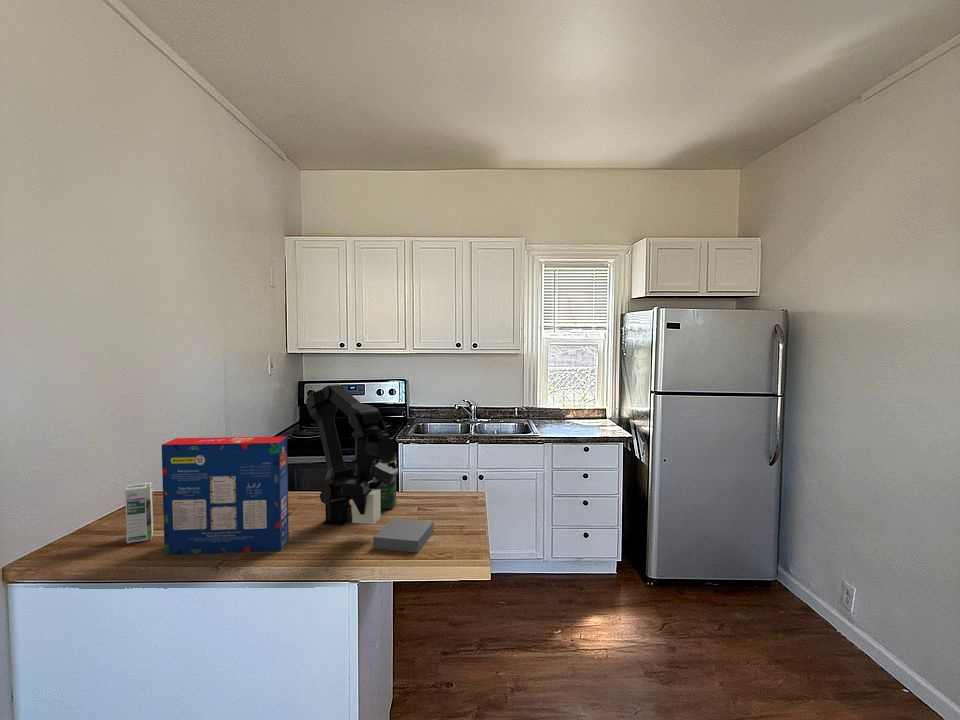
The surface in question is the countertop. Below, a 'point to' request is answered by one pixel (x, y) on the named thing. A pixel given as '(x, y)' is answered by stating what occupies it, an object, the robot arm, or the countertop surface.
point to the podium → (404, 535)
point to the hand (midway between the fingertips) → (366, 511)
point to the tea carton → (368, 509)
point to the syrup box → (139, 512)
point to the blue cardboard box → (225, 495)
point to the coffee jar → (388, 491)
